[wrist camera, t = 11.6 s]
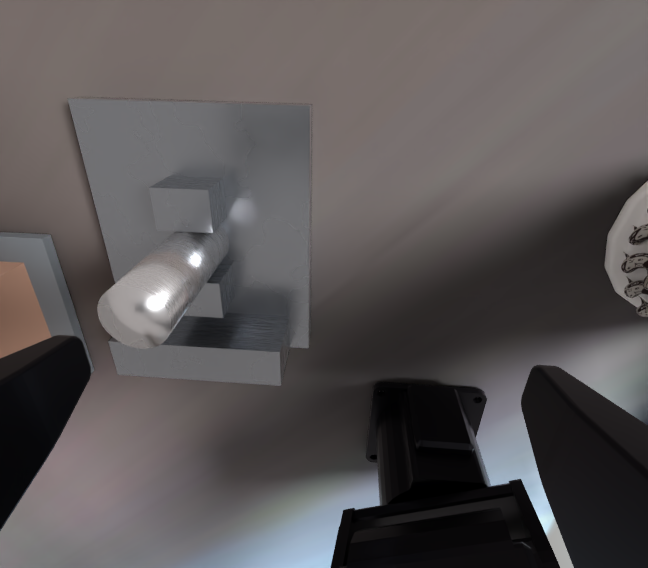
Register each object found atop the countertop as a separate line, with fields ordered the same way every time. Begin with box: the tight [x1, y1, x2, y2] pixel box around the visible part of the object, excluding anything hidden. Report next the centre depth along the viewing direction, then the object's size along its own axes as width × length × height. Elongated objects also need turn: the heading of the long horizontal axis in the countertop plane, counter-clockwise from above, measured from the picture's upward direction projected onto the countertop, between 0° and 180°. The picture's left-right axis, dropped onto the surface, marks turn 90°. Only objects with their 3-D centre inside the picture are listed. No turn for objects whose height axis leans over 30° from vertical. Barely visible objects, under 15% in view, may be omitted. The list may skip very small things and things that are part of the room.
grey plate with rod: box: [68, 97, 312, 386], centre depth 16 cm, size 12×10×8 cm
